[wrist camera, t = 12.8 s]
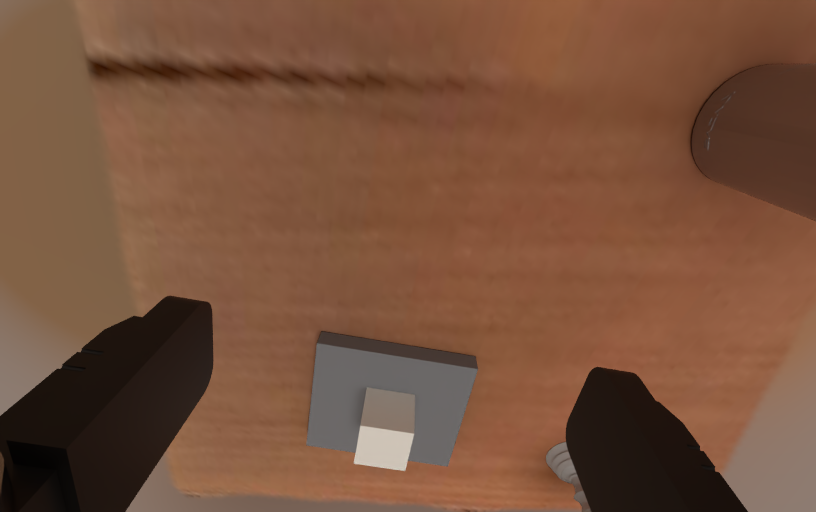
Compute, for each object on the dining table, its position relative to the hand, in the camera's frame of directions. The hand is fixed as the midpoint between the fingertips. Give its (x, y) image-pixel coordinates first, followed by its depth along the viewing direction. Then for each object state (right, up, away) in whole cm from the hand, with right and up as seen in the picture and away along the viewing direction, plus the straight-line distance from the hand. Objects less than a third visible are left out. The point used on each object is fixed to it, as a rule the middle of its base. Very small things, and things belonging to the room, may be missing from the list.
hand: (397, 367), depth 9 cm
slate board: (-2, -13, +37) cm, 39 cm away
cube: (-2, -14, +35) cm, 38 cm away
